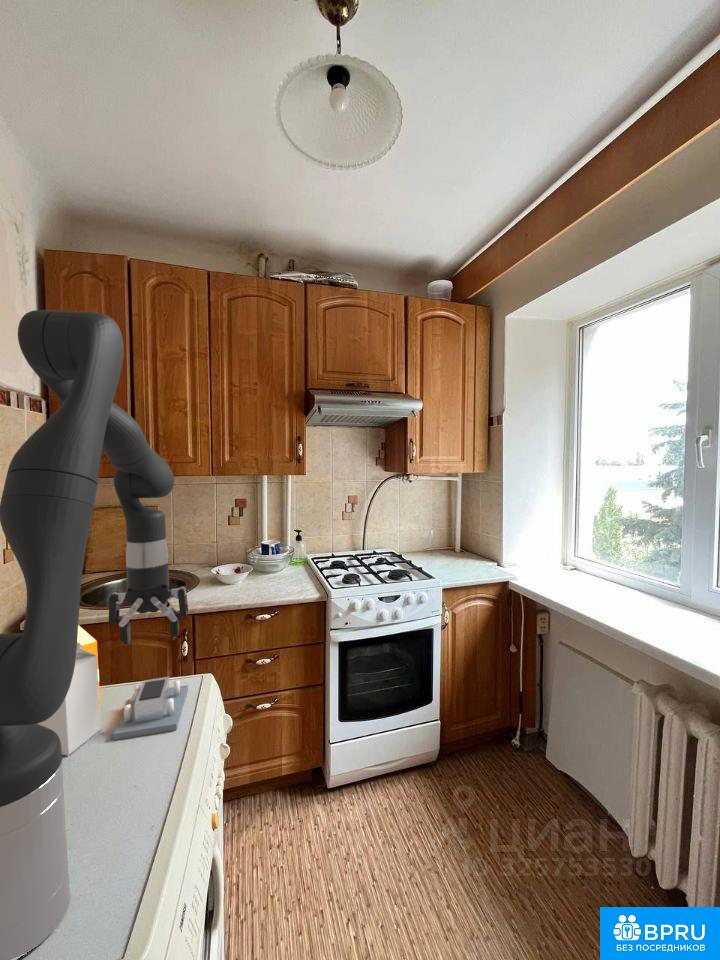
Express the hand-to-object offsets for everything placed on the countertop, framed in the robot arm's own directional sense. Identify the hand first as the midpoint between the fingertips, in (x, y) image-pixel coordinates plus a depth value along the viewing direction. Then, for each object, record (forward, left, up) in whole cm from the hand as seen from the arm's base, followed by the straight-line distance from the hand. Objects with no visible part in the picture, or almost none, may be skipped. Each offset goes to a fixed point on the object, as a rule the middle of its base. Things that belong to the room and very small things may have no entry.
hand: (150, 640), depth 85 cm
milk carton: (-13, +6, -16) cm, 21 cm away
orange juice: (-8, +16, -16) cm, 24 cm away
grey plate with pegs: (0, 0, -15) cm, 15 cm away
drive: (0, 0, -14) cm, 14 cm away
